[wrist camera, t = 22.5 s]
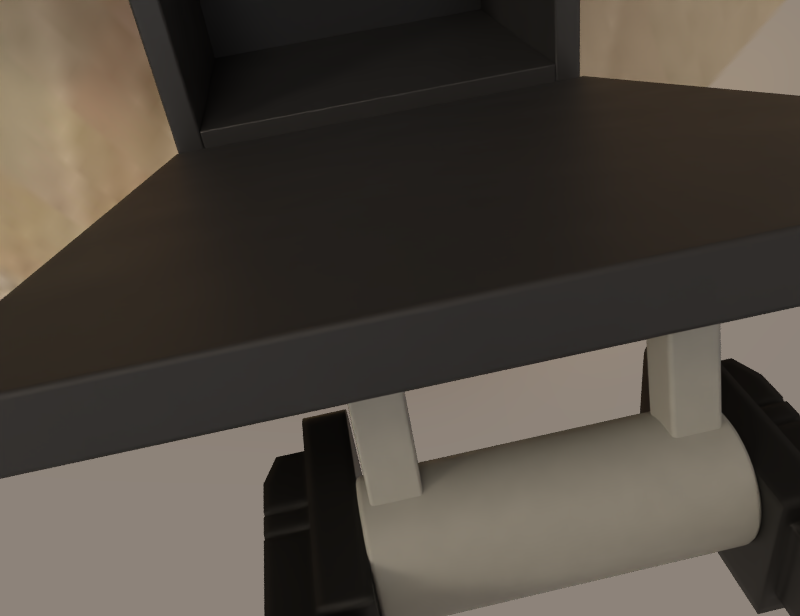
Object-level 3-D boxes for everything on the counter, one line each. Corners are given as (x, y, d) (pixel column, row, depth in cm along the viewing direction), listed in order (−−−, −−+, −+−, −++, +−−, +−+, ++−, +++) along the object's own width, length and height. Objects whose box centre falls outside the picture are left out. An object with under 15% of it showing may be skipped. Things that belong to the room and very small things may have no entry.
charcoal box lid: (-158, 427, 6) (59, 844, 8) (1245, 133, 7) (1136, 578, 8) (175, 153, 21) (221, 314, 23) (585, 75, 22) (597, 237, 24)
